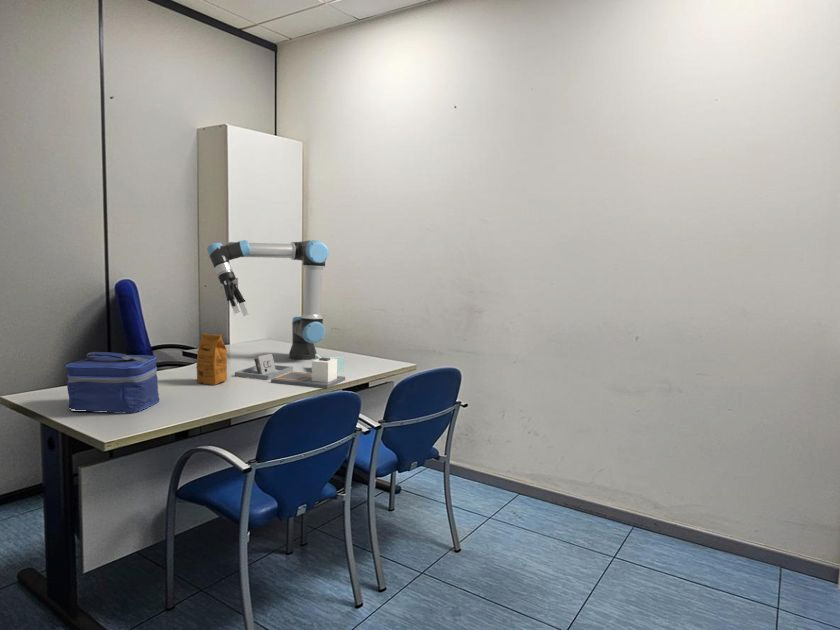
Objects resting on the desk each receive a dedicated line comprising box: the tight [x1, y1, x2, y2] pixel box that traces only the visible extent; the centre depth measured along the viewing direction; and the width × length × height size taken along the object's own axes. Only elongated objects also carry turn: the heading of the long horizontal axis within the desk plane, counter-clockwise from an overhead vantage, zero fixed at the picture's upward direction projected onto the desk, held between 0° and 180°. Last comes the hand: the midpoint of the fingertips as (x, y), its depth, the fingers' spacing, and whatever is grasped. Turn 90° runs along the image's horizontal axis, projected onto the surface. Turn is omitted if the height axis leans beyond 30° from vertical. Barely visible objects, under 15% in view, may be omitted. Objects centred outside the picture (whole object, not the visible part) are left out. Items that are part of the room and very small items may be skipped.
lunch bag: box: [65, 351, 160, 414], centre depth 210 cm, size 31×21×20 cm
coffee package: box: [196, 332, 228, 386], centre depth 250 cm, size 10×12×22 cm
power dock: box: [270, 356, 346, 389], centre depth 257 cm, size 18×28×11 cm, turn 72°
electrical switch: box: [254, 353, 277, 375], centre depth 272 cm, size 9×5×9 cm, turn 152°
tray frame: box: [234, 364, 294, 381], centre depth 272 cm, size 22×18×2 cm
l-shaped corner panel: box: [314, 353, 345, 373], centre depth 283 cm, size 12×12×8 cm
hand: (242, 313), depth 271 cm, fingers open, 13 cm apart
